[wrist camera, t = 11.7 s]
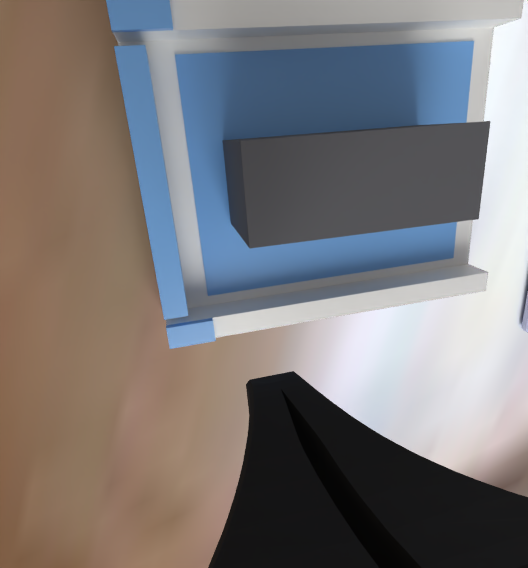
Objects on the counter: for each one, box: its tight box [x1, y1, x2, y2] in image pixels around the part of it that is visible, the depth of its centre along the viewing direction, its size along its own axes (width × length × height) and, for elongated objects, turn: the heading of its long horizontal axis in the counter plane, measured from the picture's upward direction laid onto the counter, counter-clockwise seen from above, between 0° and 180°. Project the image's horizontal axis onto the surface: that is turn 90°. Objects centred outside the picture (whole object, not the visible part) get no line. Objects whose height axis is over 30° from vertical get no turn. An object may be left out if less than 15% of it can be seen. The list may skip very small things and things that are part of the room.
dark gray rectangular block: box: [222, 121, 490, 248], centre depth 16 cm, size 9×4×4 cm, turn 94°
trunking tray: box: [106, 0, 524, 349], centre depth 16 cm, size 16×25×3 cm, turn 4°
